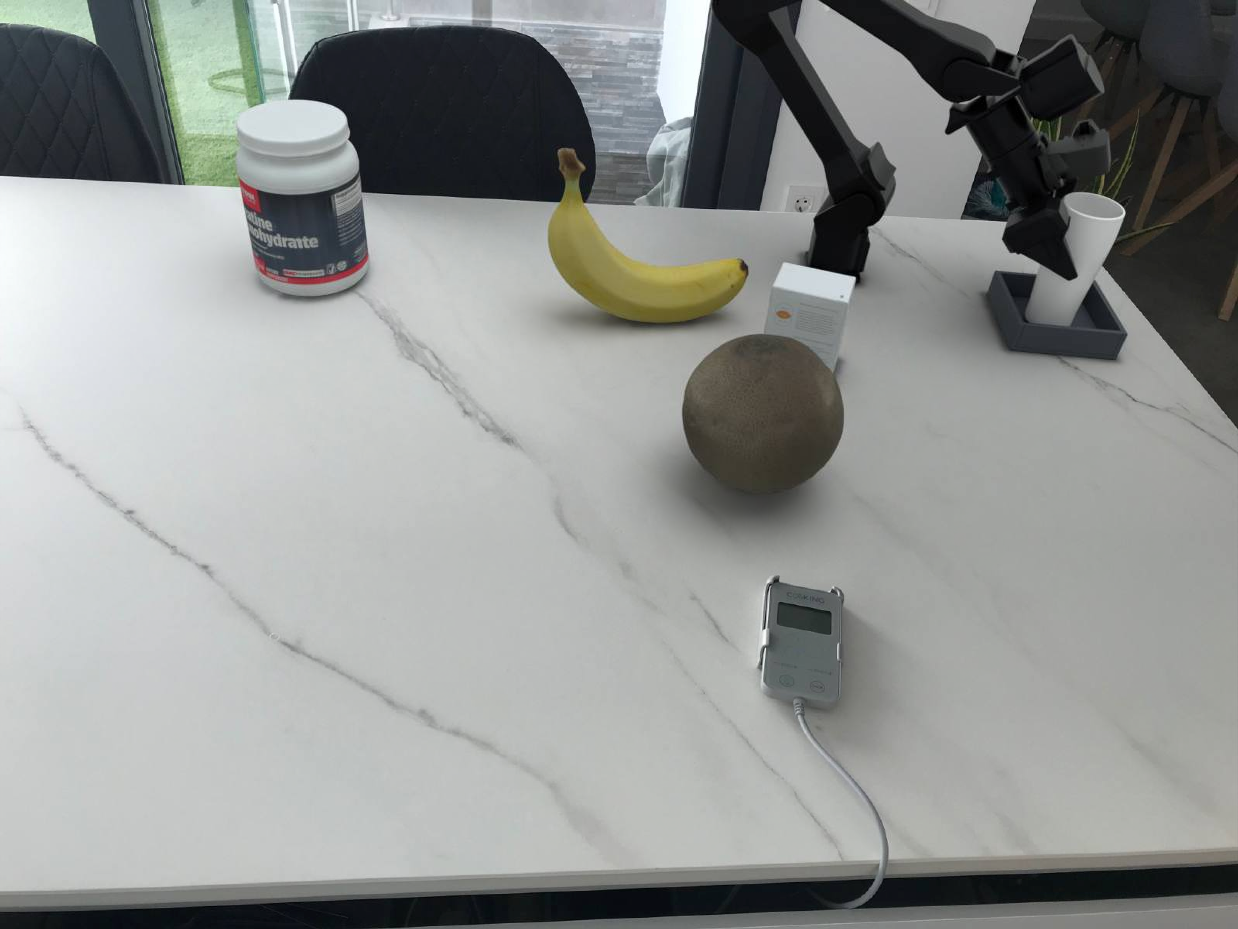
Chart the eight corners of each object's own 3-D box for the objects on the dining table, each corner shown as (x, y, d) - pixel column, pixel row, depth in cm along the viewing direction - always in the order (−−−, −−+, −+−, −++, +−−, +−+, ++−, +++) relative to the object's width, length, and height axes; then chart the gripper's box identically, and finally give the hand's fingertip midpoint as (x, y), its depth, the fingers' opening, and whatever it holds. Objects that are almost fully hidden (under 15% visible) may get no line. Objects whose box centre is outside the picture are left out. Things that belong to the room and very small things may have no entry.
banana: (735, 302, 116) (762, 138, 103) (746, 329, 112) (775, 161, 98) (544, 304, 113) (547, 135, 100) (548, 332, 108) (551, 160, 95)
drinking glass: (1040, 301, 120) (1086, 186, 110) (1087, 328, 116) (1139, 211, 106) (1004, 316, 117) (1049, 198, 107) (1052, 344, 112) (1102, 224, 103)
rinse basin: (1009, 350, 112) (1019, 324, 110) (986, 294, 121) (994, 270, 119) (1115, 359, 112) (1128, 334, 109) (1084, 303, 121) (1095, 279, 119)
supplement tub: (236, 291, 111) (201, 132, 99) (289, 239, 120) (264, 89, 108) (343, 310, 109) (321, 152, 97) (388, 256, 119) (373, 106, 107)
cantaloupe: (697, 419, 98) (717, 289, 88) (836, 456, 95) (872, 326, 85) (654, 508, 88) (670, 372, 78) (808, 553, 85) (845, 417, 75)
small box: (837, 360, 108) (858, 276, 101) (828, 388, 104) (850, 302, 97) (766, 343, 110) (783, 259, 103) (755, 369, 106) (771, 284, 99)
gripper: (1077, 134, 94) (1149, 265, 99) (1089, 76, 108) (1152, 194, 112) (970, 190, 102) (1042, 310, 106) (993, 130, 115) (1056, 238, 119)
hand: (1076, 260), depth 111 cm, fingers open, 9 cm apart
